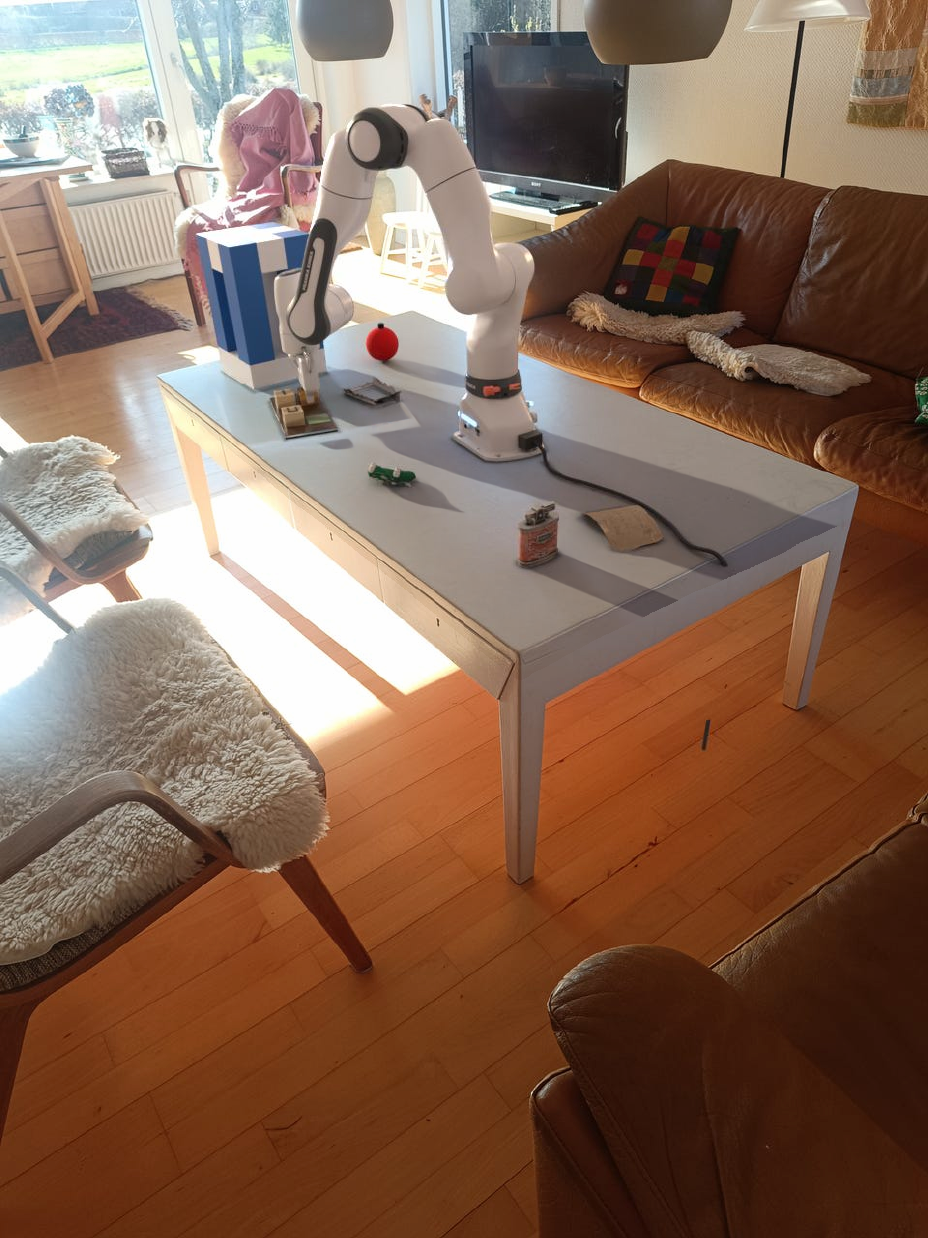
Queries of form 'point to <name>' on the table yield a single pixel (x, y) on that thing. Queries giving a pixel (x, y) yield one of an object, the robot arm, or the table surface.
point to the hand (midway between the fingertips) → (308, 398)
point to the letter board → (306, 413)
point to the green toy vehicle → (390, 474)
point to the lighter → (538, 535)
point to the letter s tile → (302, 397)
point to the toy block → (251, 298)
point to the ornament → (382, 343)
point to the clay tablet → (627, 527)
